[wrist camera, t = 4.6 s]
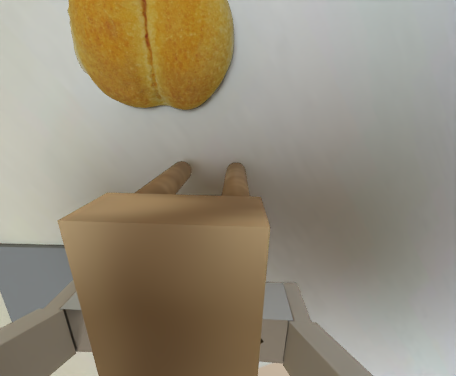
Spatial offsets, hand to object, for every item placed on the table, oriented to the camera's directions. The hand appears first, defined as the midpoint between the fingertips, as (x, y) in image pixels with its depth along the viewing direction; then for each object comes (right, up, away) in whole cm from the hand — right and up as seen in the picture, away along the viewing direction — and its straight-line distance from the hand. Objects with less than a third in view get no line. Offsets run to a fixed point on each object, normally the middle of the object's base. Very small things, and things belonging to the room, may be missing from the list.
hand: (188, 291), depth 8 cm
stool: (0, +2, +6) cm, 6 cm away
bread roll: (-3, +13, +6) cm, 15 cm away
